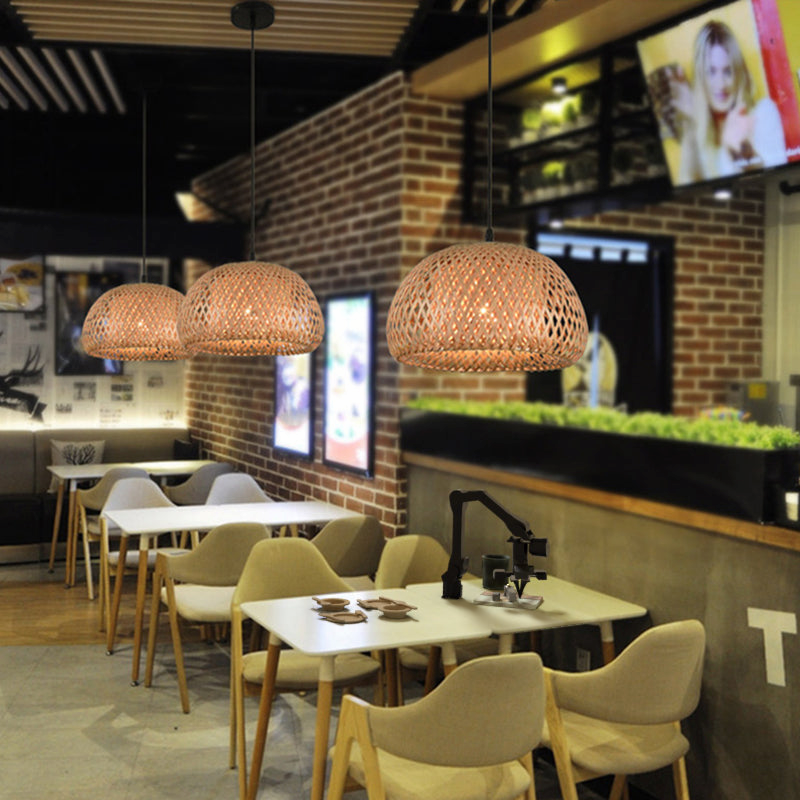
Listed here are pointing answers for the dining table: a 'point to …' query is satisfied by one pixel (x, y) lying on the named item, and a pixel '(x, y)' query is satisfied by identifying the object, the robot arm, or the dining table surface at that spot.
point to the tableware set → (382, 604)
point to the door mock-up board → (502, 600)
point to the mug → (489, 566)
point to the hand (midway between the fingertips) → (519, 598)
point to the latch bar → (510, 592)
